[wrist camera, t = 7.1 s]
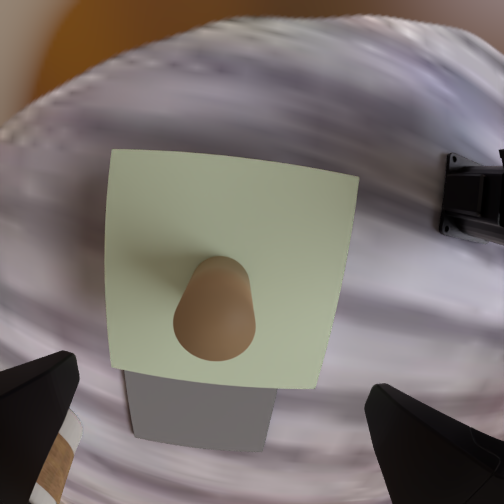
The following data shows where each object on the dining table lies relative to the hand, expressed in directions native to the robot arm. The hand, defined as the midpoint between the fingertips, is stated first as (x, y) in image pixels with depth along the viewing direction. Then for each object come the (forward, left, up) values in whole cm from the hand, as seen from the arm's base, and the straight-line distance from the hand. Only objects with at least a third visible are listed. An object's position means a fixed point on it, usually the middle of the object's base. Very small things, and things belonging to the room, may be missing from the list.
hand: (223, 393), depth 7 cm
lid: (0, -1, -8) cm, 8 cm away
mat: (+1, +11, -12) cm, 16 cm away
